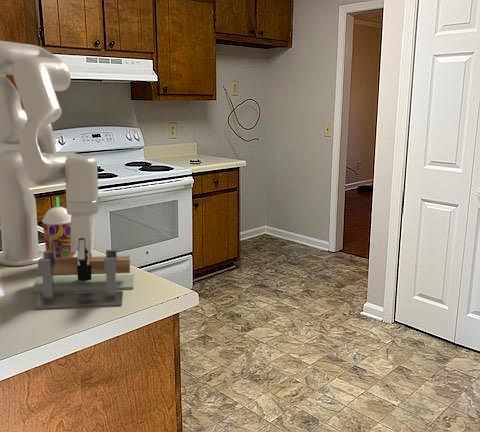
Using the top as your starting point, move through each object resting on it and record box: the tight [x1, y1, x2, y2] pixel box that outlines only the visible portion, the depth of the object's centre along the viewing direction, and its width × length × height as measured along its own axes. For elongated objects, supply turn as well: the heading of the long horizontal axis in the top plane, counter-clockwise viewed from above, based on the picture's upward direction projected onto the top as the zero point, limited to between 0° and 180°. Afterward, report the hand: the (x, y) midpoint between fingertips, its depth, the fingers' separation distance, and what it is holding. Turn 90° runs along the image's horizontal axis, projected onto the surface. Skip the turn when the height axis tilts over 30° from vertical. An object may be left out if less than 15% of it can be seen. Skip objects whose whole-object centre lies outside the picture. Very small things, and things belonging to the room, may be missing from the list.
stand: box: [34, 249, 124, 310], centre depth 114 cm, size 7×19×11 cm, turn 101°
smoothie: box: [41, 196, 75, 258], centre depth 136 cm, size 8×8×20 cm
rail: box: [37, 255, 131, 277], centre depth 125 cm, size 4×22×4 cm, turn 101°
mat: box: [31, 274, 135, 294], centre depth 126 cm, size 9×24×1 cm, turn 101°
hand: (85, 276), depth 126 cm, fingers closed on rail, 3 cm apart
